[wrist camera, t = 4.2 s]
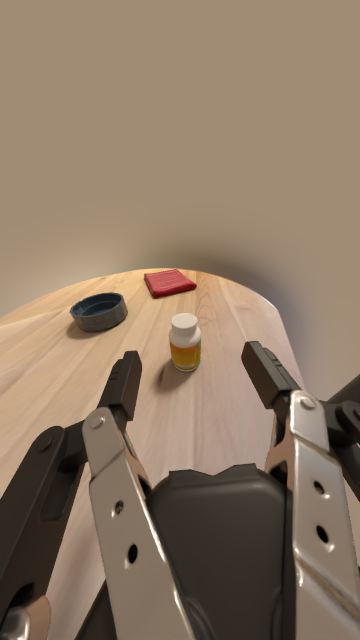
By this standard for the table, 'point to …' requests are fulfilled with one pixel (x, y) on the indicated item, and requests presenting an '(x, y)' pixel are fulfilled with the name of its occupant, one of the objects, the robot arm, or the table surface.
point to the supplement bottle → (185, 342)
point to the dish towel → (168, 283)
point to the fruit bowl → (99, 311)
